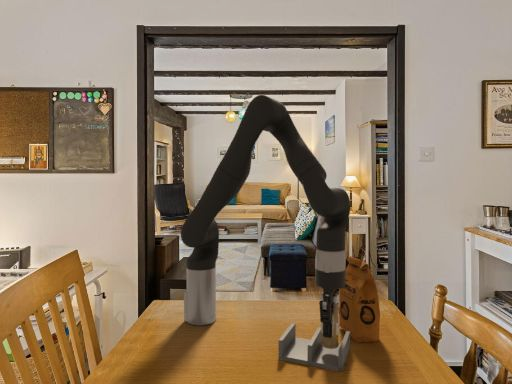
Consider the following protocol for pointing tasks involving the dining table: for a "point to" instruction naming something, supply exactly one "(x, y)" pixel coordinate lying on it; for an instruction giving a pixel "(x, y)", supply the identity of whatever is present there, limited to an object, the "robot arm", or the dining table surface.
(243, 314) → the dining table surface
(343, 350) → the bottle rack
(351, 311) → the coffee package
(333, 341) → the sprinkles bottle
